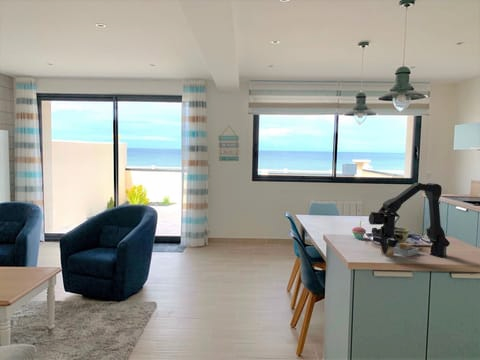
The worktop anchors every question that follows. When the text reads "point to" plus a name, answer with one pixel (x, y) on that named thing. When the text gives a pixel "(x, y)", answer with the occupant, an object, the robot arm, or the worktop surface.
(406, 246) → the block
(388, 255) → the block
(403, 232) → the ceramic cup
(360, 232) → the cupcake
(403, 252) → the tray
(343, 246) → the worktop surface
